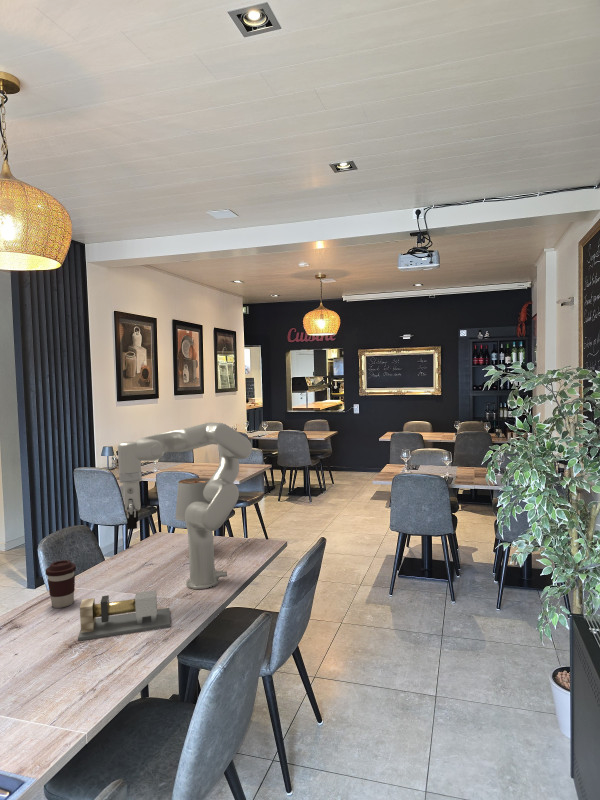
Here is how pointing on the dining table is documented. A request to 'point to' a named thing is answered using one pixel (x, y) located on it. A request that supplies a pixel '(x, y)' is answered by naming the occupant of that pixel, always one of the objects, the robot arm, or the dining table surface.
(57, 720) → the dining table surface
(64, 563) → the coffee cup
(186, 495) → the lamp
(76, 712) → the dining table surface
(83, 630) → the socket
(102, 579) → the dining table surface
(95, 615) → the tube
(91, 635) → the board
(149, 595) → the sleeve
